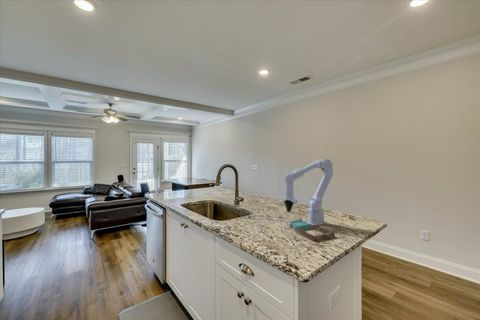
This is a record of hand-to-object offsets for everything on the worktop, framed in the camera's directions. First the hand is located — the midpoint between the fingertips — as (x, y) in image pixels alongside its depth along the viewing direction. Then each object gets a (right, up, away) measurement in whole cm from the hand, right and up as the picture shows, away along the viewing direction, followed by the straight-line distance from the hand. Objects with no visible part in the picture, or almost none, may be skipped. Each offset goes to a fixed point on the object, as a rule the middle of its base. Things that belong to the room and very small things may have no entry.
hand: (288, 211), depth 140 cm
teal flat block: (+5, -8, -10) cm, 14 cm away
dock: (+9, -8, -21) cm, 24 cm away
